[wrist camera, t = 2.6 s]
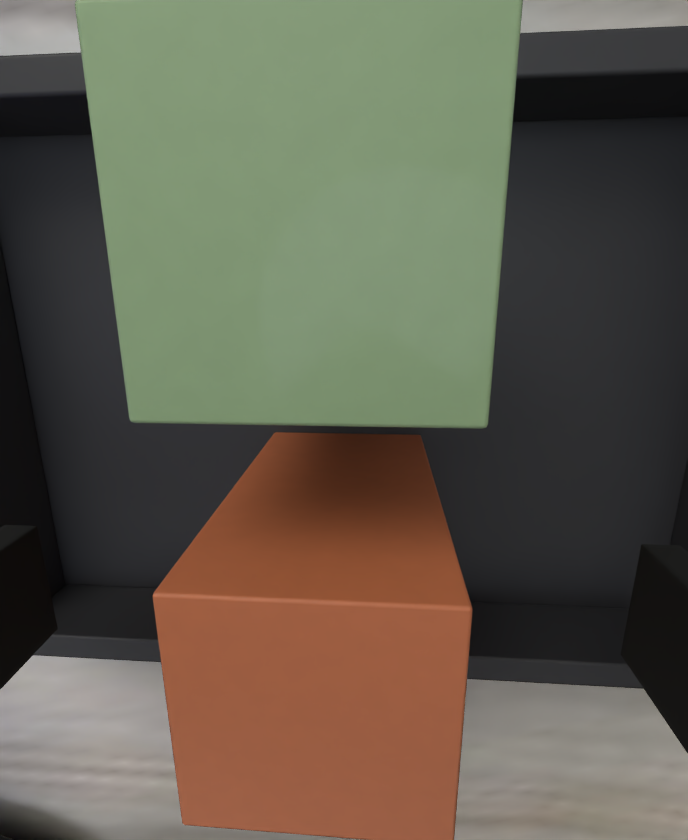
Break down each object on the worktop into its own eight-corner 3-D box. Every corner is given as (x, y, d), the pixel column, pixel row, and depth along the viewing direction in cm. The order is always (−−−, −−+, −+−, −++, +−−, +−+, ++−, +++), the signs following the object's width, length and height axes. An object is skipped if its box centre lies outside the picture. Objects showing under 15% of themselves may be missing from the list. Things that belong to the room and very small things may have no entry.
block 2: (421, 434, 14) (473, 608, 6) (415, 565, 15) (454, 848, 7) (274, 431, 14) (150, 594, 6) (280, 560, 15) (180, 827, 8)
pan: (782, 84, 11) (919, 13, 8) (668, 620, 15) (734, 695, 13) (-36, 113, 13) (-156, 60, 10) (57, 593, 17) (-9, 654, 14)
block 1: (432, 178, 12) (526, -28, 4) (424, 351, 13) (488, 429, 6) (263, 182, 12) (70, -4, 5) (270, 350, 14) (127, 424, 6)
